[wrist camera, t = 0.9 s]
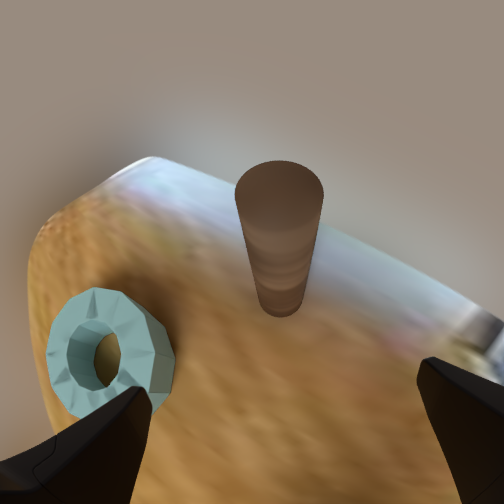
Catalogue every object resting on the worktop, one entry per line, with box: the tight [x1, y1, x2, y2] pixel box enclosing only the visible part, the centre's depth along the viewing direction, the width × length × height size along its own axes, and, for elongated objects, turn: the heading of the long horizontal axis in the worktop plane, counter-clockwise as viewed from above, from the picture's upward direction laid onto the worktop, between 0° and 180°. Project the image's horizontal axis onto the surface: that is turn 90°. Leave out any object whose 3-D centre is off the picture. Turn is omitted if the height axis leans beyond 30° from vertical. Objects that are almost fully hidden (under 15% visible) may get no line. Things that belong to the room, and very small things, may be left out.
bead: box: [46, 287, 176, 419], centre depth 19 cm, size 11×11×4 cm
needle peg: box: [235, 161, 324, 317], centre depth 17 cm, size 4×4×13 cm
